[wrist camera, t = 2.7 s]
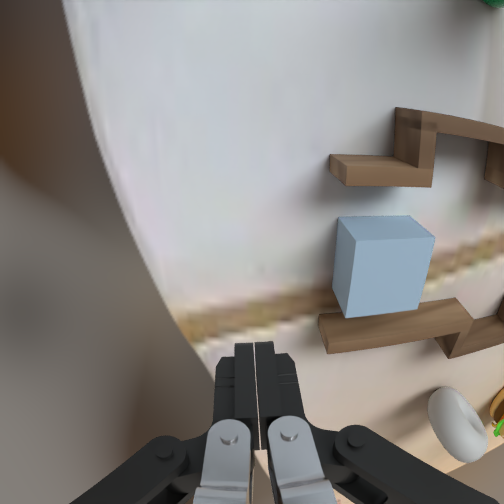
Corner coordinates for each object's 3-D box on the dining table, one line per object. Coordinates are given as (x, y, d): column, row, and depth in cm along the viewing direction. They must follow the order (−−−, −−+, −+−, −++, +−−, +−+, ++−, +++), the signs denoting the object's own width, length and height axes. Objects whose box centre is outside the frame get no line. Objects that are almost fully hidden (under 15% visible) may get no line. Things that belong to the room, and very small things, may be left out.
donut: (467, 390, 29) (500, 451, 21) (446, 407, 31) (475, 469, 22) (435, 369, 26) (475, 447, 18) (409, 390, 28) (443, 469, 19)
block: (337, 215, 19) (356, 241, 16) (408, 214, 19) (435, 237, 16) (331, 285, 21) (345, 318, 18) (396, 280, 21) (417, 309, 18)
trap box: (330, 101, 16) (348, 103, 13) (566, 148, 16) (589, 157, 13) (314, 354, 24) (322, 382, 21) (521, 314, 24) (536, 331, 22)
